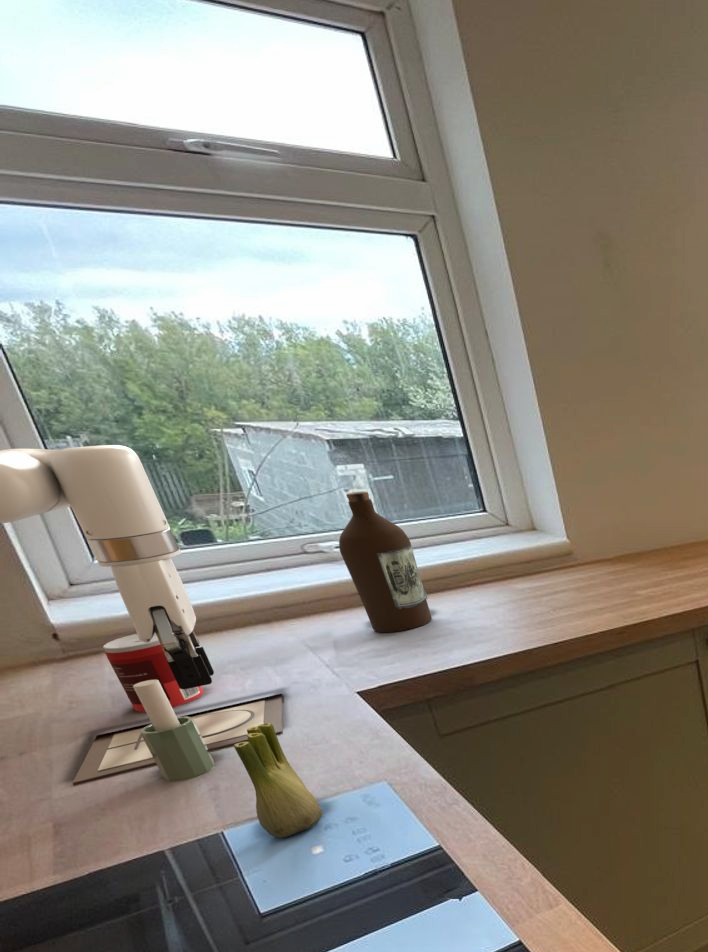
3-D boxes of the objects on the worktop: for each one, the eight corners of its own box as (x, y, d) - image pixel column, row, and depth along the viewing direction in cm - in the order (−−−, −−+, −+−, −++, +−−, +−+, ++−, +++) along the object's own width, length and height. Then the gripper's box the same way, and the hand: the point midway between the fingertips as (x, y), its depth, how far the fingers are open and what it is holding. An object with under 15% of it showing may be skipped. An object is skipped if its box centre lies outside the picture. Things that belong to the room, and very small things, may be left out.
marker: (177, 777, 99) (131, 688, 94) (179, 771, 101) (133, 683, 96) (201, 771, 100) (157, 682, 96) (202, 765, 102) (159, 677, 97)
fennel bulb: (289, 846, 85) (241, 744, 80) (250, 843, 86) (201, 742, 81) (339, 815, 90) (297, 718, 85) (302, 813, 91) (259, 717, 86)
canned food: (206, 692, 126) (174, 626, 122) (208, 706, 121) (175, 637, 117) (138, 708, 122) (102, 640, 117) (137, 723, 116) (100, 652, 112)
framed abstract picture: (75, 788, 99) (70, 781, 98) (99, 740, 112) (95, 733, 111) (284, 736, 110) (281, 729, 110) (283, 697, 123) (281, 691, 123)
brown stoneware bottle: (355, 633, 151) (304, 498, 141) (403, 615, 161) (358, 487, 151) (403, 634, 149) (354, 498, 139) (449, 616, 159) (406, 487, 149)
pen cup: (165, 788, 98) (138, 736, 95) (168, 774, 101) (142, 724, 98) (215, 775, 100) (190, 724, 98) (217, 762, 104) (193, 713, 101)
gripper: (104, 542, 106) (166, 672, 113) (82, 565, 94) (153, 708, 101) (182, 533, 110) (237, 658, 117) (170, 553, 98) (232, 691, 105)
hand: (197, 680), depth 109 cm, fingers open, 3 cm apart
